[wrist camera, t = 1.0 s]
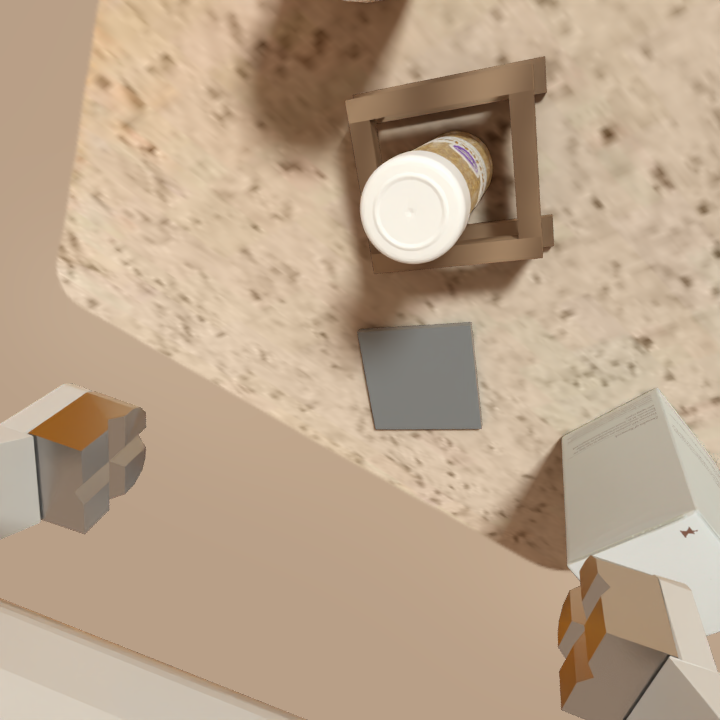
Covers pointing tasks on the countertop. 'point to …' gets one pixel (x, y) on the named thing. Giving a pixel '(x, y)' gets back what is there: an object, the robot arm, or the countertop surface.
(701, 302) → the countertop surface
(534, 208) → the square frame stand
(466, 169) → the sprinkles bottle
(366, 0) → the white cup
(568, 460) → the supplement box
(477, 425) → the slate coaster
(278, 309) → the countertop surface
